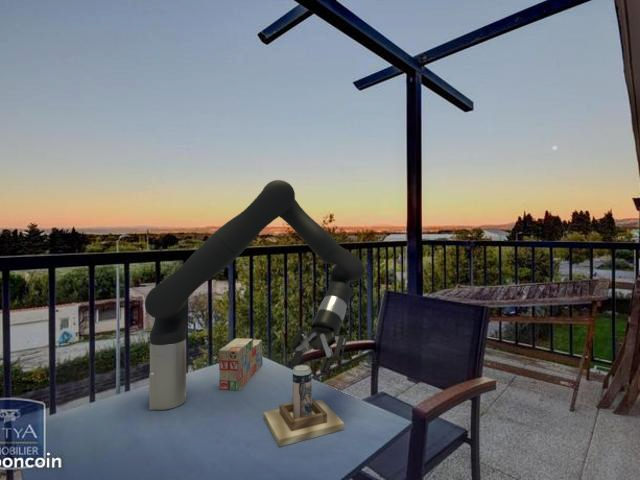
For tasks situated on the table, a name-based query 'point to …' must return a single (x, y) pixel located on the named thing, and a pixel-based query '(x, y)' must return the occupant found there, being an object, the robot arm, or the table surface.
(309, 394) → the beer can
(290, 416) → the base board
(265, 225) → the robot arm
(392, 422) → the table surface
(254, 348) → the stack of blocks
